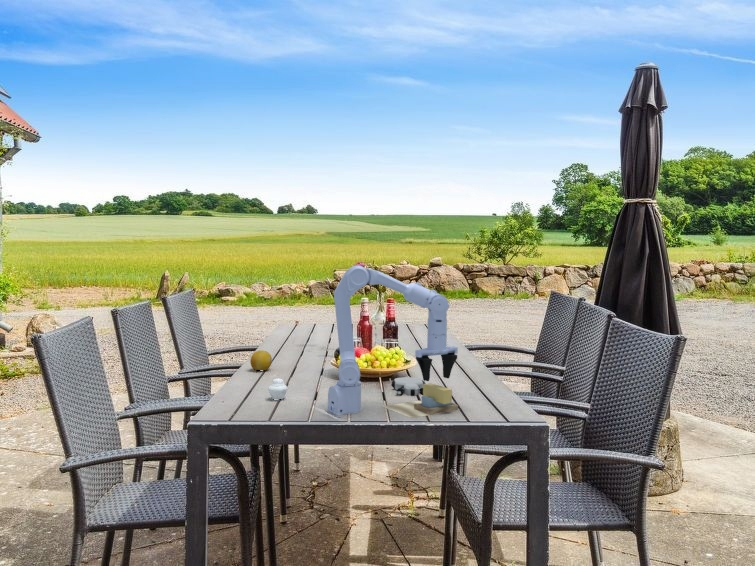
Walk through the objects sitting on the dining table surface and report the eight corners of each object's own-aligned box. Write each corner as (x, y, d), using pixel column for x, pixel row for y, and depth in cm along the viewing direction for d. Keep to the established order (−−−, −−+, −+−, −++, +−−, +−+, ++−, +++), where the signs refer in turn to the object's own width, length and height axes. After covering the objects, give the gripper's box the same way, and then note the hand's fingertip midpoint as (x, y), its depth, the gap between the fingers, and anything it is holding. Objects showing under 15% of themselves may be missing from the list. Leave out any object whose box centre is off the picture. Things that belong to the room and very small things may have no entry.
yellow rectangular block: (423, 397, 192) (423, 384, 191) (430, 395, 193) (431, 383, 193) (443, 404, 183) (443, 390, 183) (451, 402, 185) (451, 389, 185)
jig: (411, 421, 179) (411, 412, 179) (381, 409, 192) (381, 401, 192) (459, 413, 189) (460, 404, 189) (428, 402, 202) (428, 394, 202)
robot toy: (431, 401, 207) (423, 388, 222) (431, 388, 206) (424, 375, 221) (394, 402, 206) (389, 388, 220) (394, 388, 205) (389, 376, 220)
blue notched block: (442, 406, 193) (442, 393, 193) (450, 409, 189) (450, 396, 189) (421, 409, 188) (421, 396, 188) (429, 412, 185) (429, 399, 185)
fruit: (269, 373, 247) (269, 352, 246) (248, 372, 247) (248, 352, 246) (273, 368, 255) (273, 349, 255) (253, 368, 256) (253, 349, 255)
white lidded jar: (266, 398, 206) (266, 376, 205) (284, 396, 208) (284, 375, 208) (270, 402, 200) (270, 380, 199) (289, 400, 202) (289, 379, 202)
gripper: (425, 337, 180) (425, 384, 181) (464, 334, 188) (463, 379, 189) (411, 334, 186) (410, 379, 187) (449, 331, 194) (448, 374, 195)
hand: (436, 379), depth 188 cm, fingers open, 7 cm apart
